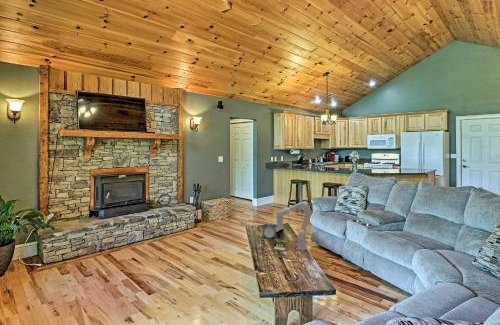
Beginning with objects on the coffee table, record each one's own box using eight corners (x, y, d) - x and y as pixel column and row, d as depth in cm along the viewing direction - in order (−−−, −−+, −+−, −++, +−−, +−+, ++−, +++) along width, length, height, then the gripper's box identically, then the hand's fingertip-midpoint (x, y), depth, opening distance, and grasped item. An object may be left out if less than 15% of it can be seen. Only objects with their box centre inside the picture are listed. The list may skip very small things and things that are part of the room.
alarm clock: (262, 238, 294) (262, 224, 293) (262, 236, 300) (262, 222, 300) (275, 238, 294) (275, 224, 293) (275, 236, 300) (275, 222, 299)
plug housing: (272, 237, 278) (272, 230, 277) (284, 238, 272) (284, 232, 271) (271, 238, 274) (271, 232, 274) (283, 240, 268) (283, 233, 268)
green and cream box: (276, 247, 268) (276, 242, 268) (286, 249, 264) (286, 244, 263) (272, 250, 261) (272, 244, 261) (283, 251, 257) (283, 246, 256)
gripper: (278, 221, 279) (278, 234, 280) (272, 224, 267) (272, 238, 267) (285, 221, 276) (285, 235, 277) (279, 225, 263) (279, 239, 264)
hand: (279, 237), depth 272 cm, fingers closed on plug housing, 4 cm apart
